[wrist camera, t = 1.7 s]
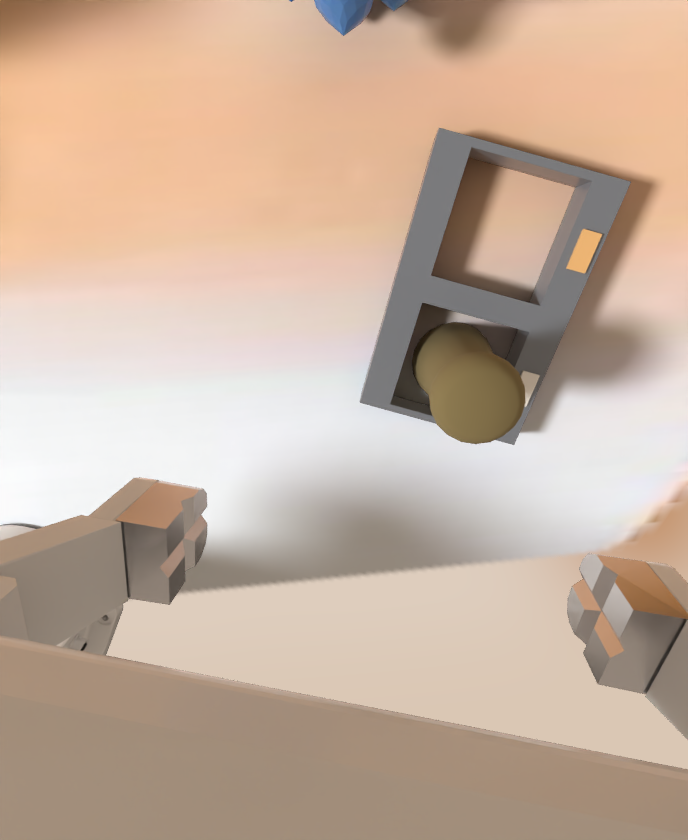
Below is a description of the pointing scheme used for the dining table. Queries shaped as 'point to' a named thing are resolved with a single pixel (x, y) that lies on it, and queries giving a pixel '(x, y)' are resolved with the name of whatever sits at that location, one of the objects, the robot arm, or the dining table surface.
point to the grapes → (349, 12)
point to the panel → (533, 320)
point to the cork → (468, 384)
